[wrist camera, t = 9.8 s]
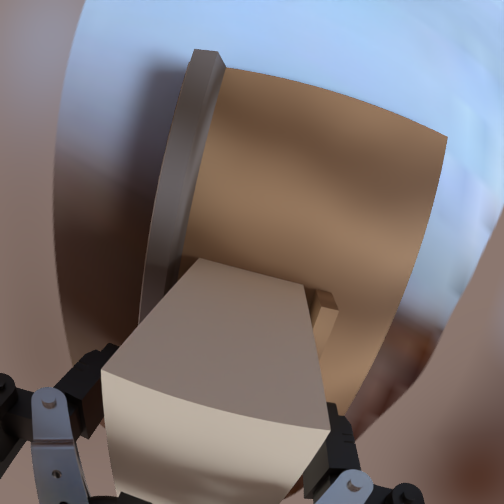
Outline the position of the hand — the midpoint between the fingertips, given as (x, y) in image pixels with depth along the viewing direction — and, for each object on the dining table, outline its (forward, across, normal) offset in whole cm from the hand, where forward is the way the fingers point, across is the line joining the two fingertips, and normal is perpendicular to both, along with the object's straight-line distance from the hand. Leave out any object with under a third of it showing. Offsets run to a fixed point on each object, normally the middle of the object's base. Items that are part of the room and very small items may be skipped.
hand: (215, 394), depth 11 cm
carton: (+4, 0, 0) cm, 4 cm away
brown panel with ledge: (+6, -2, -4) cm, 7 cm away
